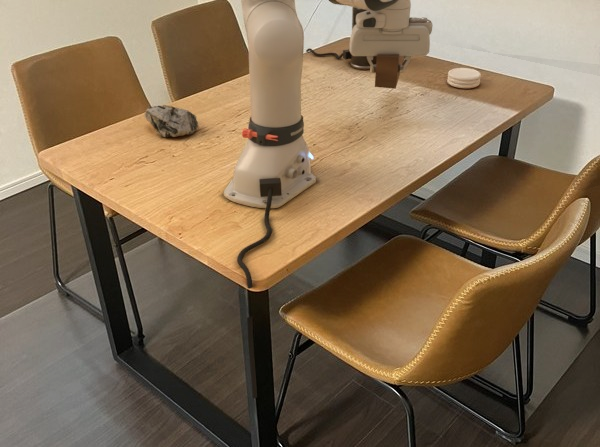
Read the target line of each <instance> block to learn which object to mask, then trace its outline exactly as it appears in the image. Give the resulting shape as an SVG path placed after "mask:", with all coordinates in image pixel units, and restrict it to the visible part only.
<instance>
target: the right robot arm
mask: <svg viewBox="0 0 600 447" xmlns="http://www.w3.org/2000/svg"><path fill="white" fill-rule="evenodd" d="M351 8H352V10H351V11H352V12H351V30H352V29H353V27H354V26H355V25H356V15H357V14H358V13H361V12H364V11H367V10H364V9H359V8H355V7H351ZM305 52H306V53H308V52H311V54H313V55H314V56H316V57H326V56H335V58H336V60H341V59H344V60H349V63H350V64H349V65H350V67H351V68H353V69H356V70H361V71H362V70H366V71H367V70H370V64H369V62H368V60H367V56H353V55H352V54H351V53H350V50H349V49H343V50H342V53H341V54H339V55H338V53H336V52H325V53H317V52H315V51H314V49H312V48H307V49H306V51H305ZM376 60H377V56H373V60H371V61H372V63H373V64H376Z"/></svg>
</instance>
